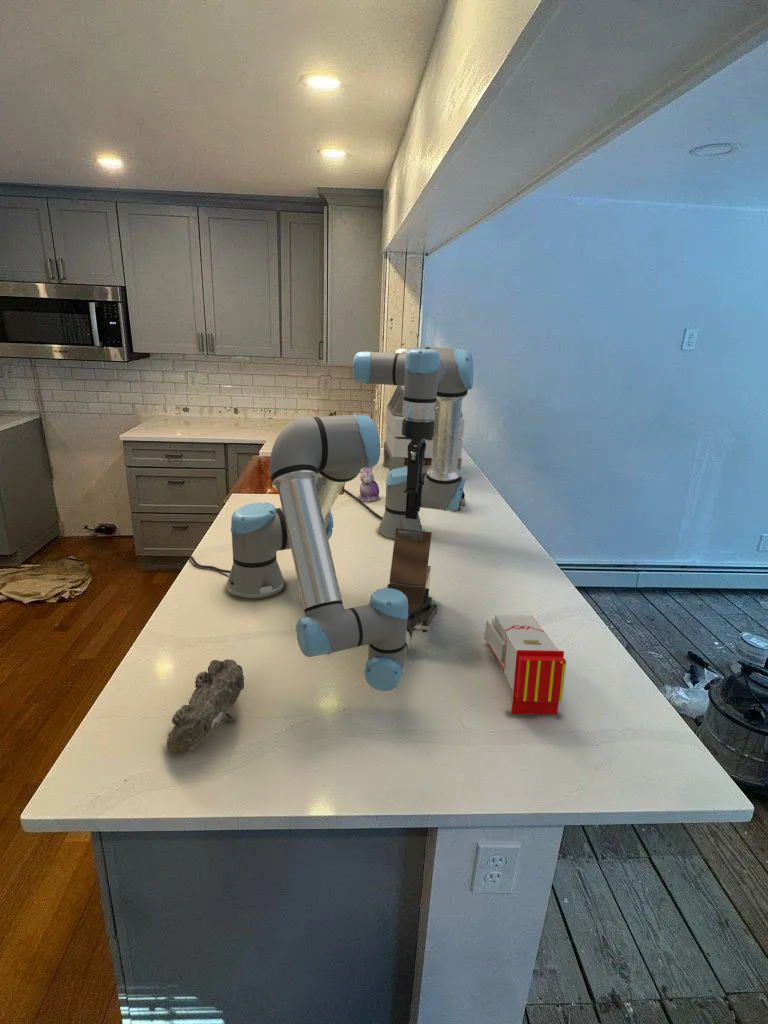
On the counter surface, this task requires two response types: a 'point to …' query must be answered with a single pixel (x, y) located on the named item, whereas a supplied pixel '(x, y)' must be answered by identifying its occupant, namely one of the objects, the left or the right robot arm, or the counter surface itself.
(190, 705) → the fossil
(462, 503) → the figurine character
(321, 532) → the left robot arm
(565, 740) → the counter surface
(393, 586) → the brown hollow box
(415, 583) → the lid
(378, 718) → the counter surface
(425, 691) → the counter surface
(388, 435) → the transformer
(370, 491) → the figurine
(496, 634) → the toy
